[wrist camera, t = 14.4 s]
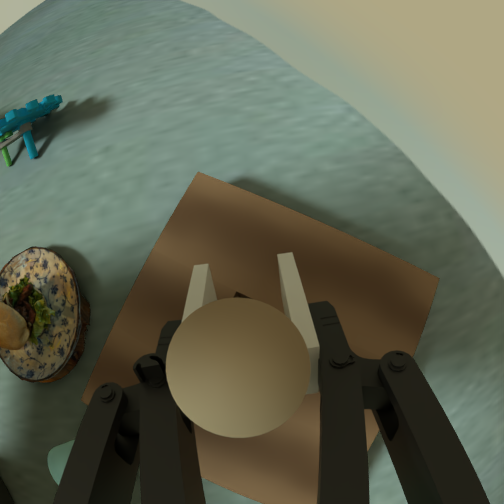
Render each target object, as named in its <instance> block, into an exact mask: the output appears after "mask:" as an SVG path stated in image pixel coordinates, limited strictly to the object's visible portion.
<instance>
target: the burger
mask: <svg viewBox="0 0 504 504" xmlns="http://www.w3.org/2000/svg"><path fill="white" fill-rule="evenodd" d="M89 307H90V304H89V303H88V302H87V300H86V299H85V298H84V297H83V296H82V295H81V292H80V289H79V285H78V281H77V278H76V276H75V273H74V271H73V270H72V269H71V268H70V267H69V266H68V265H67V264H66V262H65V261H64V260H63V258H62V257H61V256H60V255H59V254H57V253H56V252H54V251H52V250H50V249H47V248H43V247H30V248H28V249H26V250H25V251H23V252H21V253H19V254H18V255H16V256H14V257H12V259H11V260H10V261H9V262H8V263H7V264H6V265H5V266H4V267H3V269H2V270H1V272H0V358H1V359H2V361H3V362H4V363H5V365H6V366H7V367H8V368H9V370H10V371H11V372H12V373H14V374H15V375H16V376H18V377H19V378H20V379H21V380H26V381H29V382H42V383H44V382H53V381H56V380H59V379H61V378H62V377H64V376H65V375H67V374H68V373H69V372H70V371H71V370H72V369H73V368H74V366H75V365H76V364H77V362H78V361H79V359H80V357H81V355H82V353H83V351H84V346H85V345H84V343H85V342H84V341H85V340H84V339H86V338H84V337H85V335H84V334H85V331H86V328H87V327H86V325H90V324H89V317H90V313H89V312H90V308H89ZM87 331H88V330H87ZM85 344H86V343H85ZM82 350H83V351H82Z"/></svg>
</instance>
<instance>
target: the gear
mask: <svg viewBox="0 0 504 504" xmlns="http://www.w3.org/2000/svg"><path fill="white" fill-rule="evenodd" d="M62 102H63V101H62V97H61V95H58V96H54V95H50V96H47V97H45V98H43V101H42V102H40V103H38V101H37V99H35V100H33V101H31V102H29V103H27V104H26V108H21V109H19V110H16V109H13V110H11V111H10V112H8V113H7V114H5V117H6V118H3V119H0V150H2V153H3V156H4V159H5V162H6V165H7V166H9V165H11V164H12V162H11V159H10V156H9V153H8V150H7V146H8V145H10V144H11V143H13V142H14V141H16V140H17V139H19V138H20V137H22V136H23V138H24V141H25V144H26V147H27V150H28V153H29V156H30V159H32V158H34V157H36V156H38V153H37V150H36V147H35V144H34V141H33V137H32V134H31V130H32V125H31V123H33V122H34V121H36V118H39V117H43V116H45V115H47V114H49V113H50V111H51V110H53V109H56V108H58V107H59V104H60V103H62ZM16 130H18V131H19V132H18V133H16V134H15V135H13V132H15V131H16ZM11 135H13V136H12V137H11V138H9V139H6V138H8V137H10V136H11ZM5 139H6V140H5Z"/></svg>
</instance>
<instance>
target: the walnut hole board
mask: <svg viewBox="0 0 504 504" xmlns="http://www.w3.org/2000/svg"><path fill="white" fill-rule="evenodd" d="M290 252H292V253H293V256H294V260H295V263H296V266H297V270H298V273H299V276H300V280H301V283H302V286H303V290H304V293H305V297H306V300H307V304H308V303H315V302H321V301H328V302H329V303H330V304H331V305H332V306H334V308H335V310H336V313H337V316H338V318H339V321H340V324H341V326H342V329H343V331H344V334H345V337H346V339H347V342H348V345H349V347H350V349H351V351H353V352H354V353H355V354H356V355H357V356H359V357H362V358H367V359H381V358H382V357H383V356H384V354H386V353H388V352H390V351H395V350H399V351H404V352H406V353H408V354H410V356H411V357H412V358H413V356H414V353H415V350H416V348H417V345H418V343H419V340H420V337H421V334H422V332H423V329H424V326H425V323H426V320H427V317H428V314H429V311H430V308H431V305H432V302H433V299H434V295H435V292H436V289H437V285H438V282H439V278H438V277H436V276H434V275H432V274H430V273H428V272H426V271H424V270H422V269H420V268H418V267H416V266H414V265H412V264H410V263H408V262H406V261H404V260H402V259H400V258H398V257H395V256H393V255H391V254H389V253H387V252H385V251H383V250H381V249H379V248H377V247H374V246H372V245H370V244H368V243H366V242H364V241H362V240H359V239H357V238H355V237H353V236H351V235H349V234H346V233H344V232H342V231H340V230H338V229H335V228H333V227H331V226H329V225H326V224H324V223H322V222H320V221H317V220H315V219H313V218H310V217H308V216H306V215H304V214H301V213H299V212H297V211H294V210H292V209H290V208H287V207H285V206H282V205H280V204H278V203H275V202H273V201H270V200H268V199H266V198H263V197H261V196H258V195H256V194H253V193H251V192H249V191H246V190H244V189H241V188H239V187H236V186H234V185H231V184H228V183H226V182H223V181H221V180H218V179H216V178H213V177H211V176H208V175H205V174H203V173H200V172H197V174H196V176H195V177H194V179H193V181H192V182H191V184H190V185H189V187H188V189H187V190H186V192H185V194H184V195H183V197H182V199H181V200H180V202H179V204H178V205H177V207H176V209H175V211H174V212H173V214H172V216H171V217H170V219H169V221H168V223H167V224H166V226H165V228H164V230H163V231H162V233H161V235H160V237H159V239H158V240H157V242H156V244H155V246H154V248H153V249H152V251H151V253H150V255H149V257H148V259H147V260H146V262H145V264H144V266H143V268H142V270H141V272H140V274H139V275H138V277H137V279H136V281H135V283H134V285H133V287H132V289H131V291H130V293H129V295H128V297H127V299H126V301H125V303H124V305H123V307H122V309H121V311H120V313H119V315H118V317H117V319H116V321H115V323H114V326H113V328H112V330H111V332H110V334H109V336H108V338H107V340H106V343H105V345H104V347H103V349H102V351H101V354H100V356H99V358H98V360H97V363H96V365H95V367H94V369H93V372H92V374H91V376H90V379H89V381H88V384H87V386H86V388H85V391H84V393H83V396H82V398H81V401H83V402H84V403H85V404H86V405H89V403H90V400H91V398H92V396H93V393H94V392H95V390H96V389H97V388H98V387H99V386H100V385H102V384H104V383H108V382H114V383H117V384H118V385H120V386H121V388H125V387H129V386H132V385H136V384H138V383H140V381H139V379H138V378H137V376H136V374H135V373H134V371H133V366H134V363H135V362H136V361H137V360H138V359H139V358H140V357H142V356H143V355H147V354H150V353H155V352H156V348H157V346H158V340H159V336H160V333H161V329H162V328H163V326H164V325H165V324H166V323H167V321H173V320H182V318H183V313H184V308H185V304H186V299H187V294H188V290H189V285H190V281H191V276H192V272H193V268H194V265H200V264H209V268H210V272H211V276H212V281H213V285H214V289H215V293H216V297H217V300H220V299H225V298H249V299H254V300H258V301H261V302H264V303H266V304H269V305H270V306H272V307H274V308H276V309H278V310H279V311H280V312H282V313H283V314H284V315H285V313H284V307H283V302H282V296H281V286H280V276H279V266H278V257H277V254H283V253H290ZM364 415H365V426H366V439H367V451H368V450H369V448H370V446H371V444H372V443H373V441H374V439H375V437H376V435H377V433H378V431H379V427H378V425H377V422H376V420H375V418H374V415H373V413H372V410H371V409H364ZM194 430H195V438H196V445H197V452H198V459H199V466H200V473H201V477H203V478H205V479H207V480H209V481H211V482H213V483H215V484H217V485H219V486H222V487H224V488H226V489H228V490H231V491H233V492H235V493H238V494H240V495H242V496H245V497H247V498H250V499H252V500H255V501H258V502H260V503H263V504H317V492H318V472H319V444H320V391H319V392H318V393H312V394H306V395H305V397H304V399H303V401H302V403H301V404H300V406H299V408H298V409H297V410H296V411H295V413H294V414H293V415H292V416H291V417H290V418H289V419H288V420H287V421H286V422H284V423H283V424H282V425H280V426H279V427H277V428H275V429H273V430H272V431H270V432H267V433H264V434H262V435H258V436H254V437H246V438H231V437H225V436H221V435H217V434H214V433H212V432H209V431H207V430H205V429H203V428H201V427H200V426H198V425H197V424H195V423H194Z"/></svg>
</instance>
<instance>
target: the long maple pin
mask: <svg viewBox="0 0 504 504" xmlns="http://www.w3.org/2000/svg"><path fill="white" fill-rule="evenodd" d="M166 375H167V381H168V385H169V389H170V391H171V394H172V396H173V398H174V400H175V402H176V403H177V405H178V406H179V408H180V409H181V410H182V412H183V413H184V414H185V415H186V416H187V417H188V418H189V419H190V420H191V421H193V422H194V423H195V424H197V425H198V426H200V427H201V428H203V429H205V430H207V431H209V432H212V433H214V434H217V435H221V436H225V437H231V438H246V437H254V436H258V435H262V434H264V433H267V432H270V431H272V430H273V429H275V428H277V427H279V426H280V425H282V424H283V423H284V422H286V421H287V420H288V419H289V418H290V417H291V416H292V415H293V414H294V413H295V411H296V410H297V409H298V408H299V406H300V404H301V403H302V401H303V399H304V397H305V394H306V392H307V389H308V385H309V381H310V357H309V352H308V349H307V345H306V343H305V341H304V339H303V337H302V335H301V333H300V332H299V330H298V328H297V327H296V326H295V325H294V323H293V322H292V321H291V320H290V319H289V318H288V317H287V316H286V315H284V314H283V313H282V312H280V311H279V310H278V309H276V308H274V307H272V306H270V305H269V304H266V303H264V302H261V301H258V300H254V299H249V298H225V299H220V300H216V301H213V302H210V303H208V304H206V305H204V306H202V307H200V308H198V309H197V310H195V311H194V312H193V313H191V314H190V315H189V316H188V317H187V318H186V319H185V320H184V321H183V322H182V323H181V325H180V326H179V327H178V328H177V330H176V332H175V334H174V335H173V337H172V340H171V342H170V344H169V348H168V352H167V358H166Z"/></svg>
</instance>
